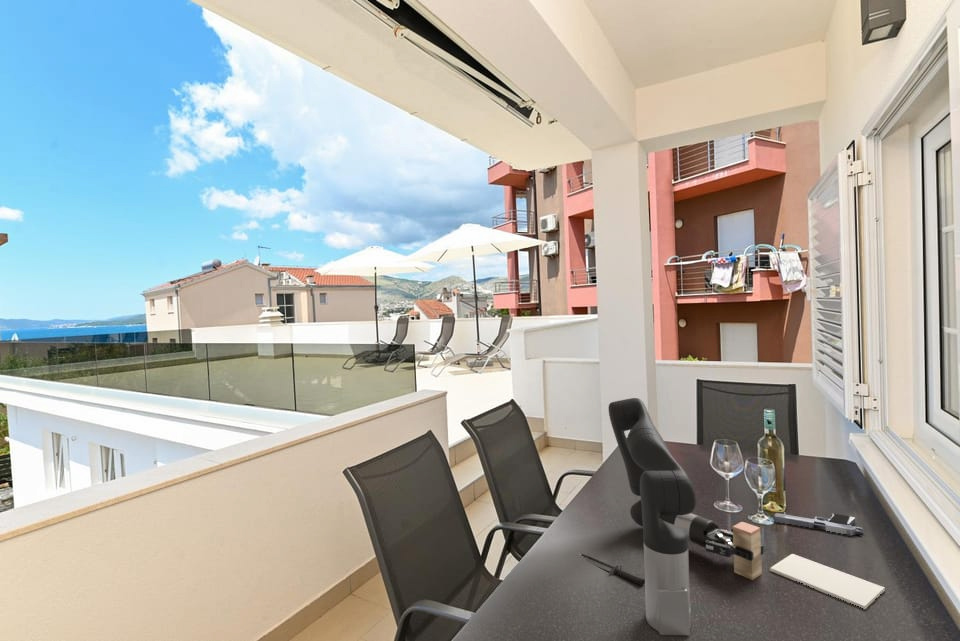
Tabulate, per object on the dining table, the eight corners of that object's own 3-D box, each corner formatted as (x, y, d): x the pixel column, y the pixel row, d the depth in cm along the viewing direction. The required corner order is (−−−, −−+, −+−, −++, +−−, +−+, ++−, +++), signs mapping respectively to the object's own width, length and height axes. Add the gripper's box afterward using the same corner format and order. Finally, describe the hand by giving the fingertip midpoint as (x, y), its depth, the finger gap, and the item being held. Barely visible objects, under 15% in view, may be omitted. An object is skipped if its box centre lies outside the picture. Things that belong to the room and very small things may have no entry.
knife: (562, 551, 136) (574, 543, 139) (563, 557, 136) (574, 550, 139) (636, 583, 117) (648, 574, 120) (637, 590, 117) (649, 581, 120)
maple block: (761, 574, 121) (760, 527, 121) (752, 580, 119) (750, 532, 119) (743, 566, 125) (742, 521, 125) (734, 572, 123) (732, 526, 122)
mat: (884, 590, 112) (884, 587, 112) (864, 609, 106) (864, 606, 106) (792, 556, 129) (792, 553, 129) (770, 570, 123) (770, 567, 123)
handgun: (775, 502, 160) (773, 515, 150) (860, 516, 147) (864, 531, 137) (775, 510, 160) (773, 523, 150) (860, 524, 147) (864, 540, 137)
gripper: (679, 523, 130) (742, 547, 116) (709, 509, 138) (771, 530, 123) (680, 550, 130) (743, 577, 116) (710, 535, 138) (772, 559, 123)
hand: (757, 553), depth 120 cm, fingers closed on maple block, 4 cm apart
